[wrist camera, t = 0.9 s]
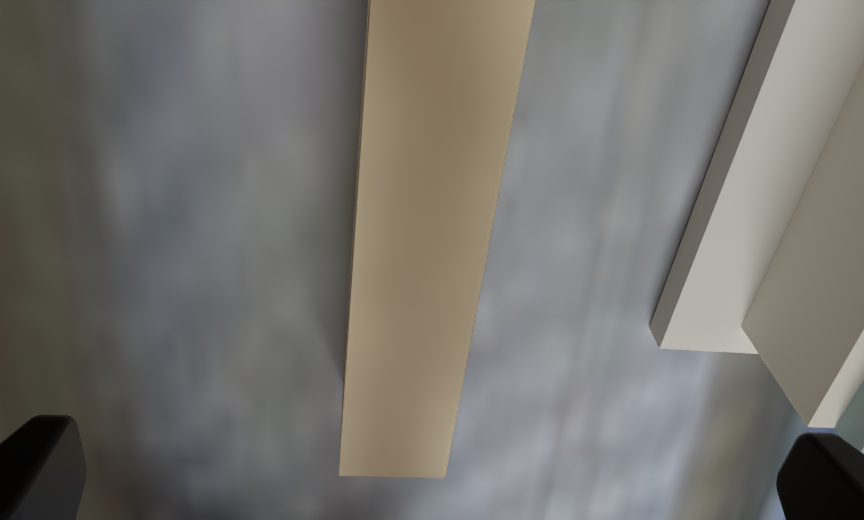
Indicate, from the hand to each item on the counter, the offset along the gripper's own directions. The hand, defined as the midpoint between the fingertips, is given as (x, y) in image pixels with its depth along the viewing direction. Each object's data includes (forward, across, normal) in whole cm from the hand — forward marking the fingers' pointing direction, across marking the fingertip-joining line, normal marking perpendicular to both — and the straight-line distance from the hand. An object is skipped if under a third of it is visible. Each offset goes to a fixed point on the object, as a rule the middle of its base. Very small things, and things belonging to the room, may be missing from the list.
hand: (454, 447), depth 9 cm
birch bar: (+11, 0, 0) cm, 11 cm away
